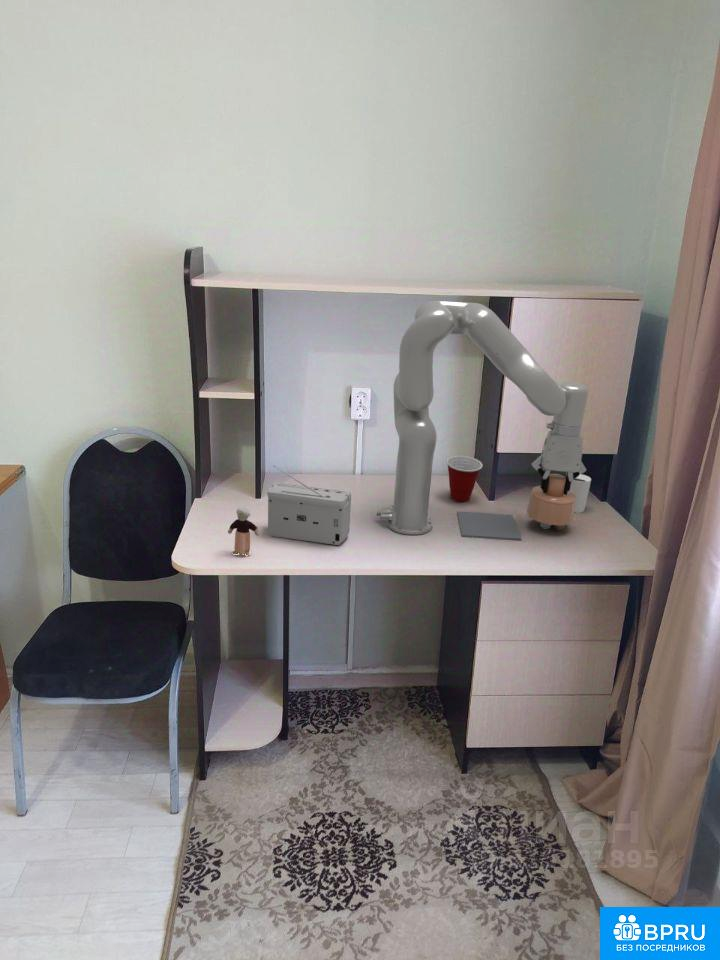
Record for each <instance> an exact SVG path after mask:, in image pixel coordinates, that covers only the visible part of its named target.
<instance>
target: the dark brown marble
mask: <svg viewBox="0 0 720 960" xmlns="http://www.w3.org/2000/svg"><path fill="white" fill-rule="evenodd" d="M553 527H554V528H555V530H558V531H562V530H564V529H565V527H566V525H560V526H559V525H553Z"/></svg>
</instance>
